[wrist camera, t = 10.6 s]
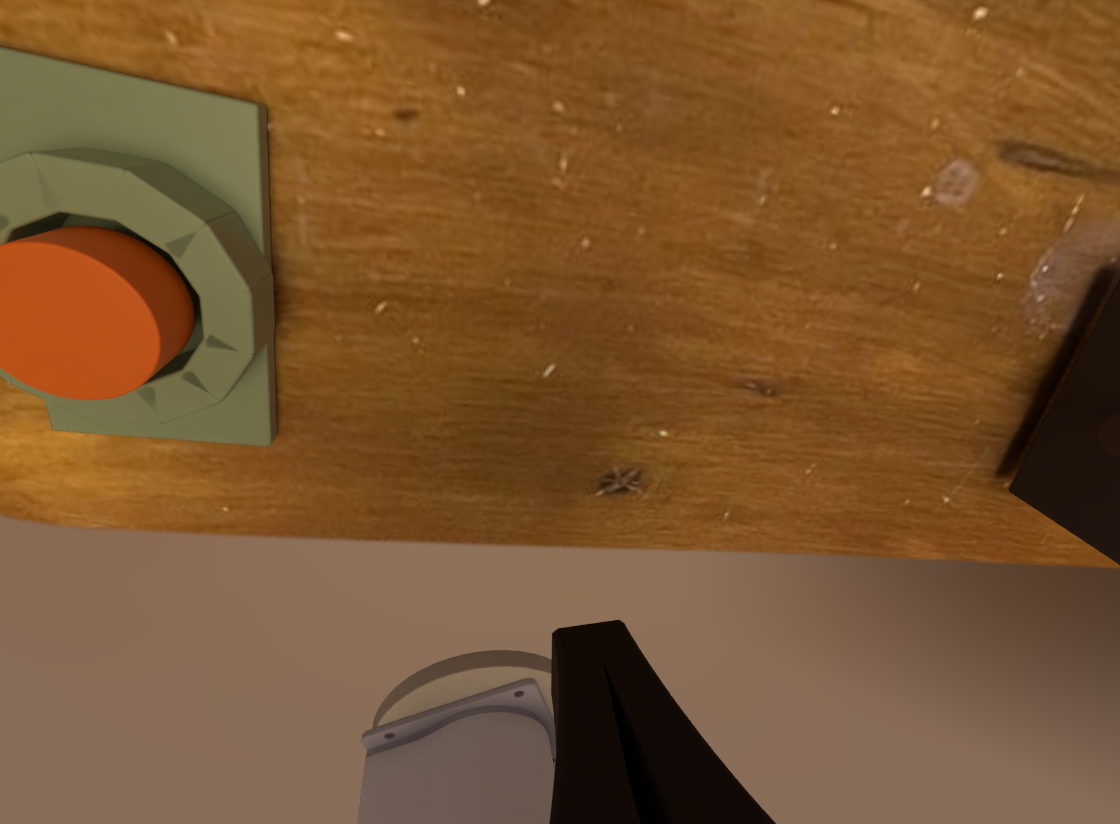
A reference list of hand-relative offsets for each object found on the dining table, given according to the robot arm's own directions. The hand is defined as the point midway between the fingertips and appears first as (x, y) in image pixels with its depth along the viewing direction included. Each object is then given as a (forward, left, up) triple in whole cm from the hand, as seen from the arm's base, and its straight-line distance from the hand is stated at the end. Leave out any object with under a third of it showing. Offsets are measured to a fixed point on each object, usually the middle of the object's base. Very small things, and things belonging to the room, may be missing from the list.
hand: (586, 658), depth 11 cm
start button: (-9, +8, -8) cm, 14 cm away
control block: (-9, +8, -10) cm, 16 cm away
